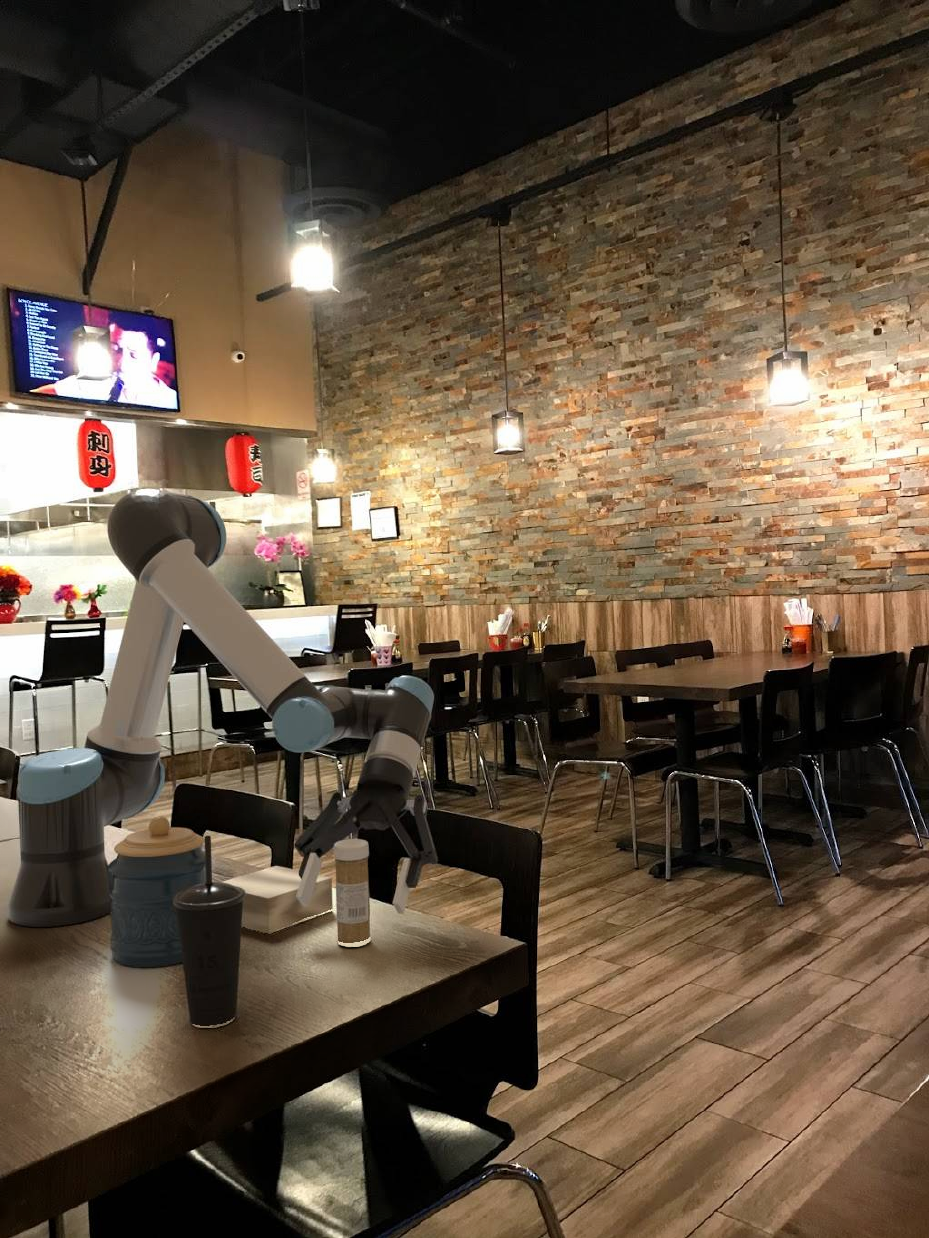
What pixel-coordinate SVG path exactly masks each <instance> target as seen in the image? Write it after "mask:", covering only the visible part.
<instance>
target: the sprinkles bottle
mask: <svg viewBox="0 0 929 1238" xmlns="http://www.w3.org/2000/svg"><path fill="white" fill-rule="evenodd" d="M369 849H370V848H369V842H368V841H367V840H365V839H361V838H349V839H343V840H341V841H338V842H336V843H335V844H334V847H333V858H334V862H335V902H336V903H335V905H336V922H337V924H336V926H337V939H338V941H339V942H343V943H354V942H360V941H364V940H366V939H368V938H369V937H370V936H371V926H370V925H371V924H370V923H371V921H370V918H371V917H370V916H371V905H370V904H371V903H370V901H371V900H370V897H371V896H370V887H369V886H370V885H369V867H368V865H369V864H368V863H369V862H368V859H369V856H370V851H369Z"/></svg>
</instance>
